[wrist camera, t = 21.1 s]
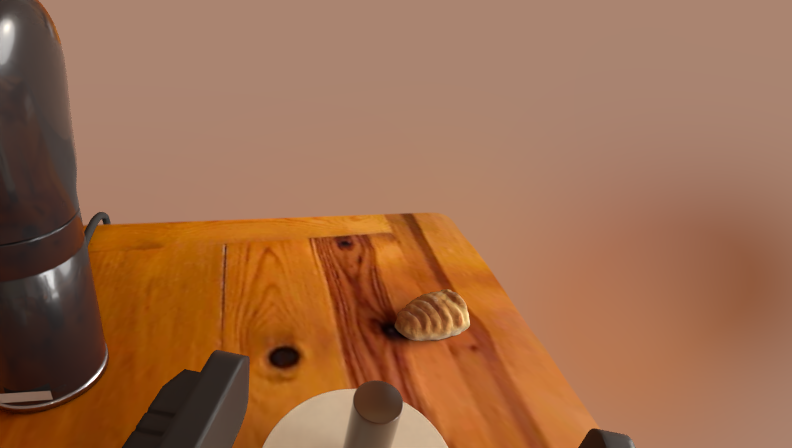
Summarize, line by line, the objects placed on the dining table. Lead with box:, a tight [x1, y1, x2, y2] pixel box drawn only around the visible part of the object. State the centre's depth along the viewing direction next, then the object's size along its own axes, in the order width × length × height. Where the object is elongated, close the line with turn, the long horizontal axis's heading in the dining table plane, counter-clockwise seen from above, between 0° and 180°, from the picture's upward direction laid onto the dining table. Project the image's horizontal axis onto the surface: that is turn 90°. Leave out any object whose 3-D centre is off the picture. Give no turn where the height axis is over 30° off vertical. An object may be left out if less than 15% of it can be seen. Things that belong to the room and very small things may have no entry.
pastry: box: [395, 289, 470, 341], centre depth 57 cm, size 9×7×4 cm
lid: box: [262, 381, 448, 448], centre depth 29 cm, size 14×14×9 cm
